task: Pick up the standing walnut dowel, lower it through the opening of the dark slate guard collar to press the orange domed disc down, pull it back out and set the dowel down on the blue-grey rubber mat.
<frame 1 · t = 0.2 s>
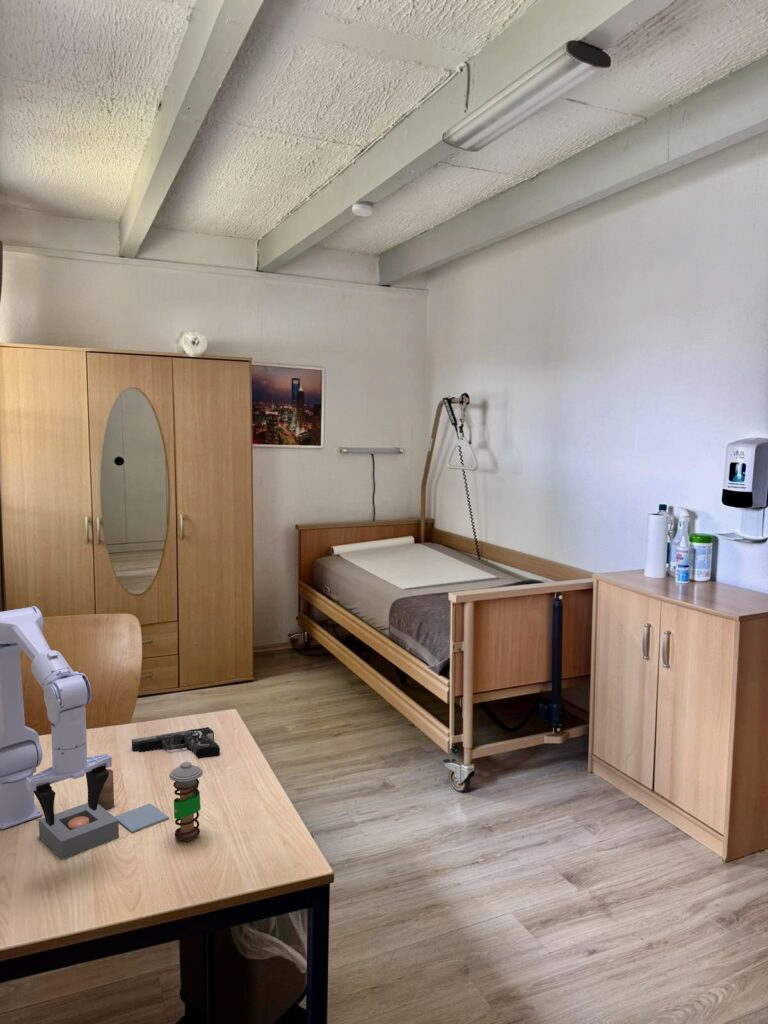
hand: (71, 815, 133), 10 cm above the table, tool pointing down, fingers open, 7 cm apart
handgun: (175, 753, 184), on the table
shock absorber: (187, 838, 144), on the table
mat: (141, 818, 151), on the table
orange domed disc: (78, 824, 144), point 3 cm above the table, slide at 0.0 cm
dowel: (105, 806, 156), on the table
guard collar: (79, 836, 144), on the table
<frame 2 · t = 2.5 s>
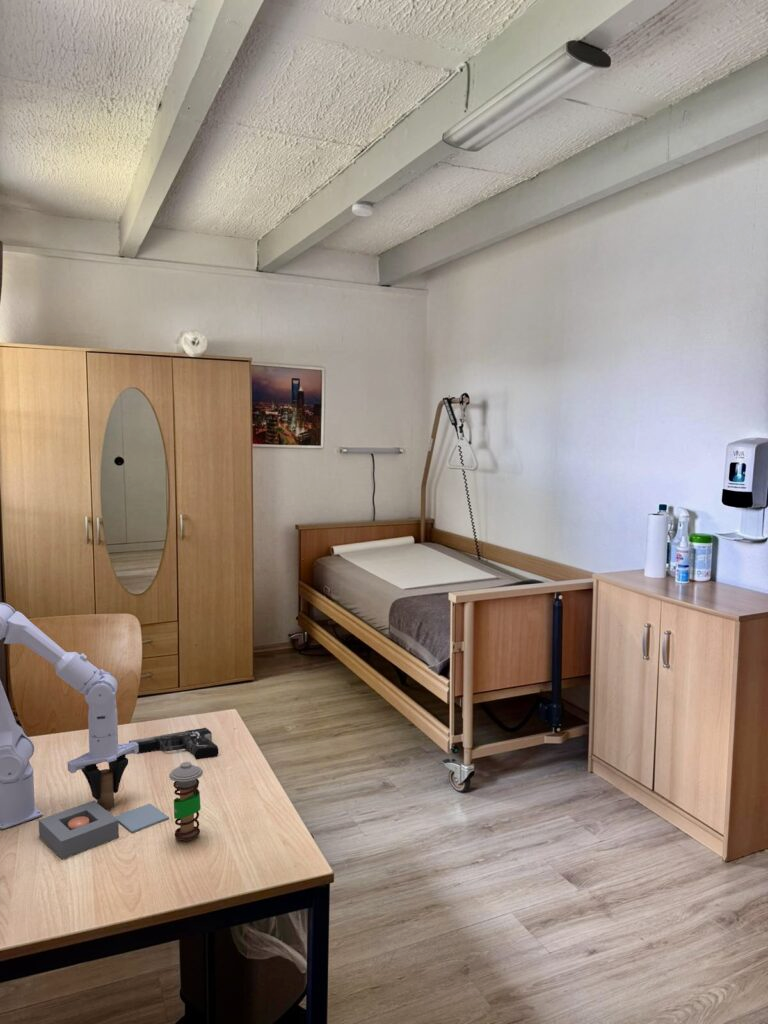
hand: (105, 794, 156), 3 cm above the table, tool pointing down, fingers closed on dowel, 3 cm apart
dowel: (105, 806, 156), on the table, touching gripper
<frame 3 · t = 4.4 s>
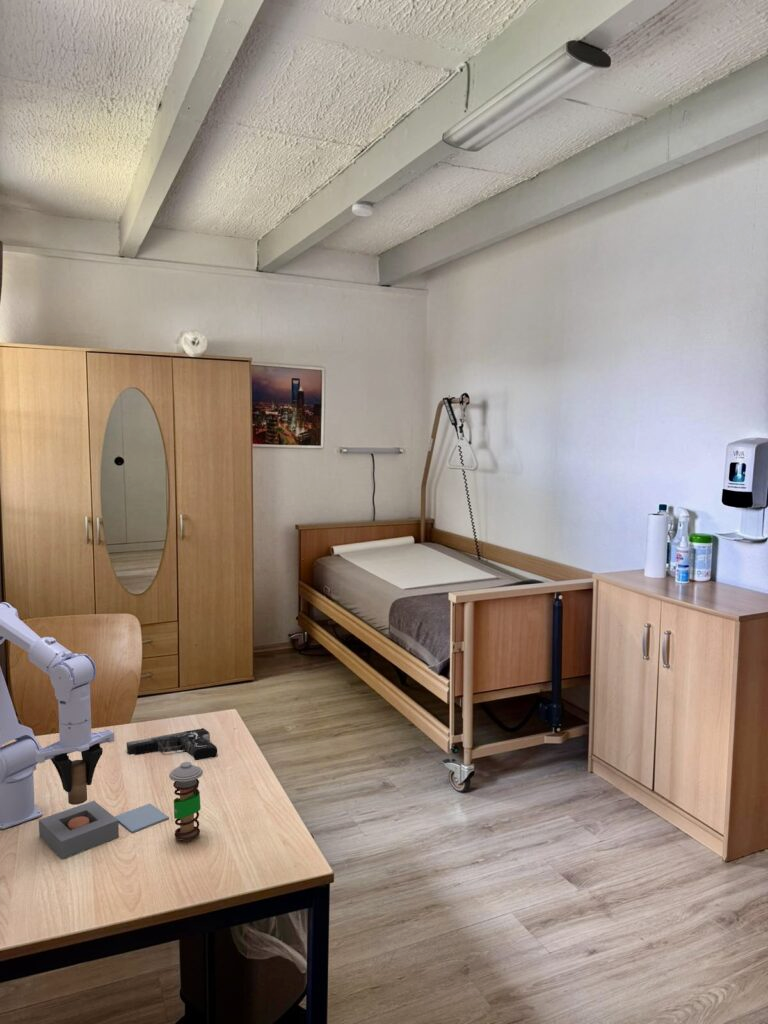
hand: (77, 786, 143), 10 cm above the table, tool pointing down, fingers closed on dowel, 3 cm apart
dowel: (77, 800, 143), point 7 cm above the table, touching gripper
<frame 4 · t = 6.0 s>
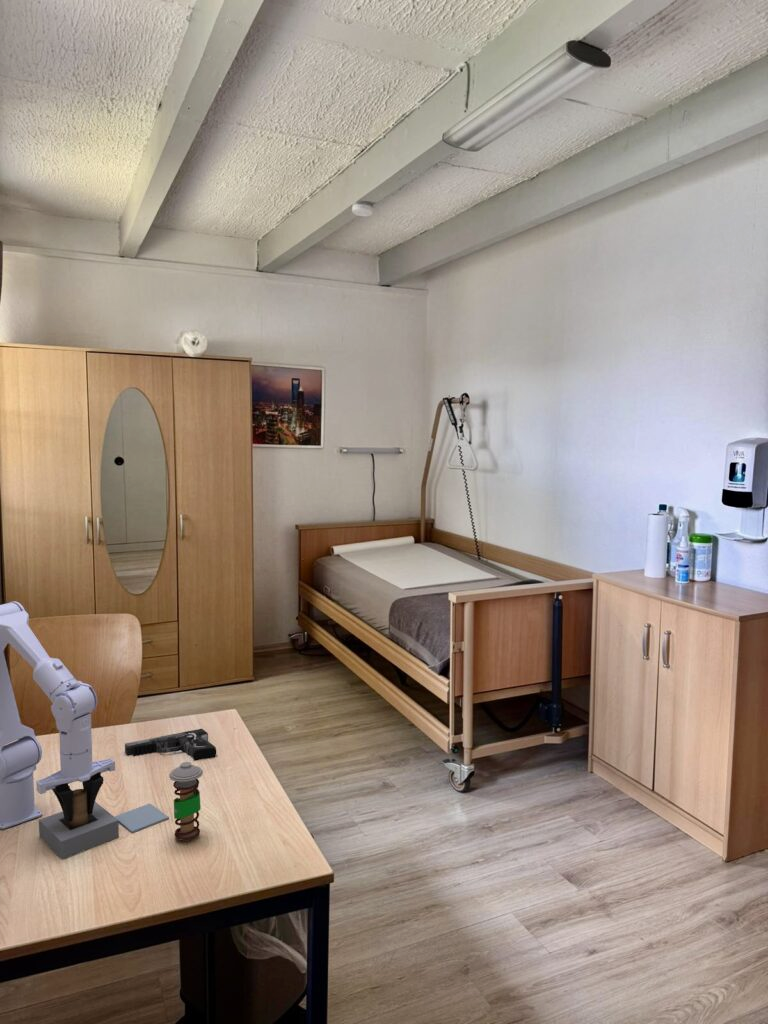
hand: (78, 816, 144), 4 cm above the table, tool pointing down, fingers closed on dowel, 3 cm apart
orange domed disc: (79, 832, 144), point 1 cm above the table, slide at 1.7 cm, touching dowel
dowel: (78, 829, 144), point 2 cm above the table, touching gripper, orange domed disc
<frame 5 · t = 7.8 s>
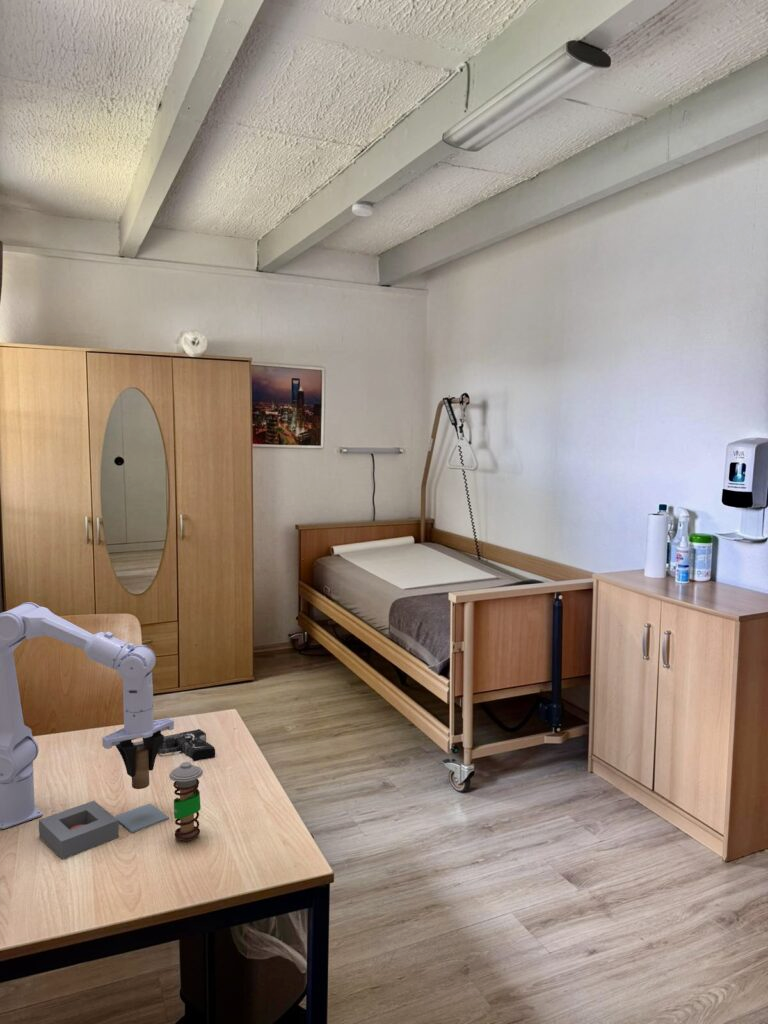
hand: (140, 771, 150), 10 cm above the table, tool pointing down, fingers closed on dowel, 3 cm apart
orange domed disc: (79, 832, 144), point 1 cm above the table, slide at 1.7 cm
dowel: (140, 785, 150), point 7 cm above the table, touching gripper
when the fingers open (4 cm above the table, at t = 9.1 s): dowel stays where it is, resting on mat.
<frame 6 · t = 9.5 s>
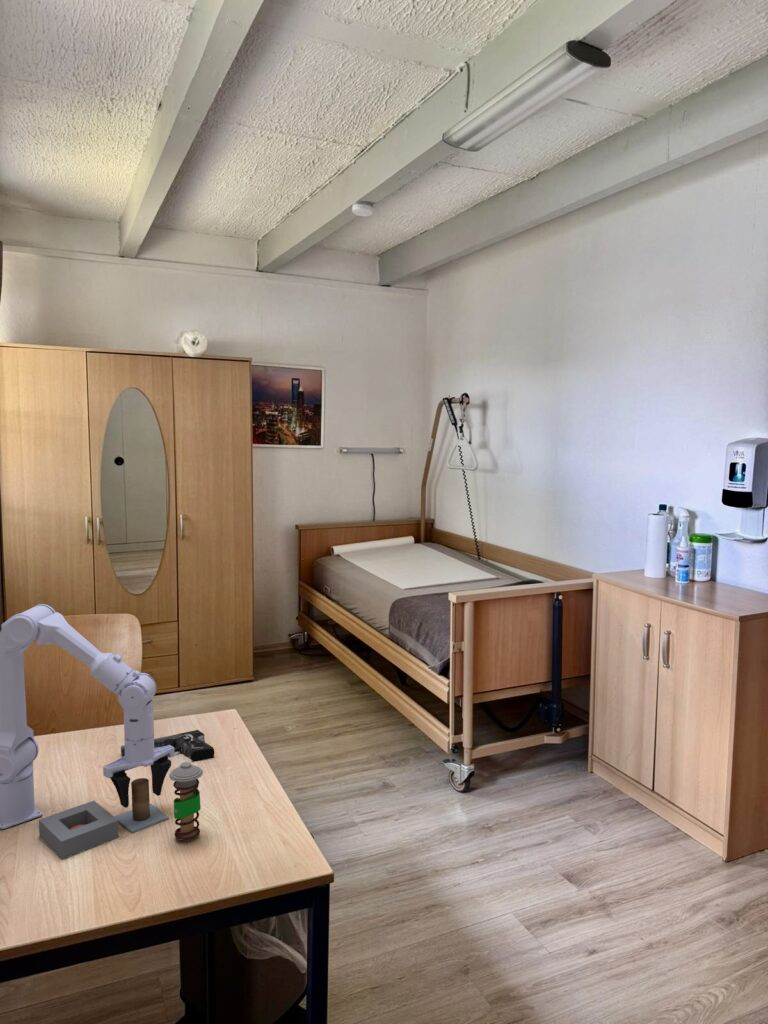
hand: (140, 799, 151), 4 cm above the table, tool pointing down, fingers open, 6 cm apart
dowel: (141, 816, 151), resting on mat
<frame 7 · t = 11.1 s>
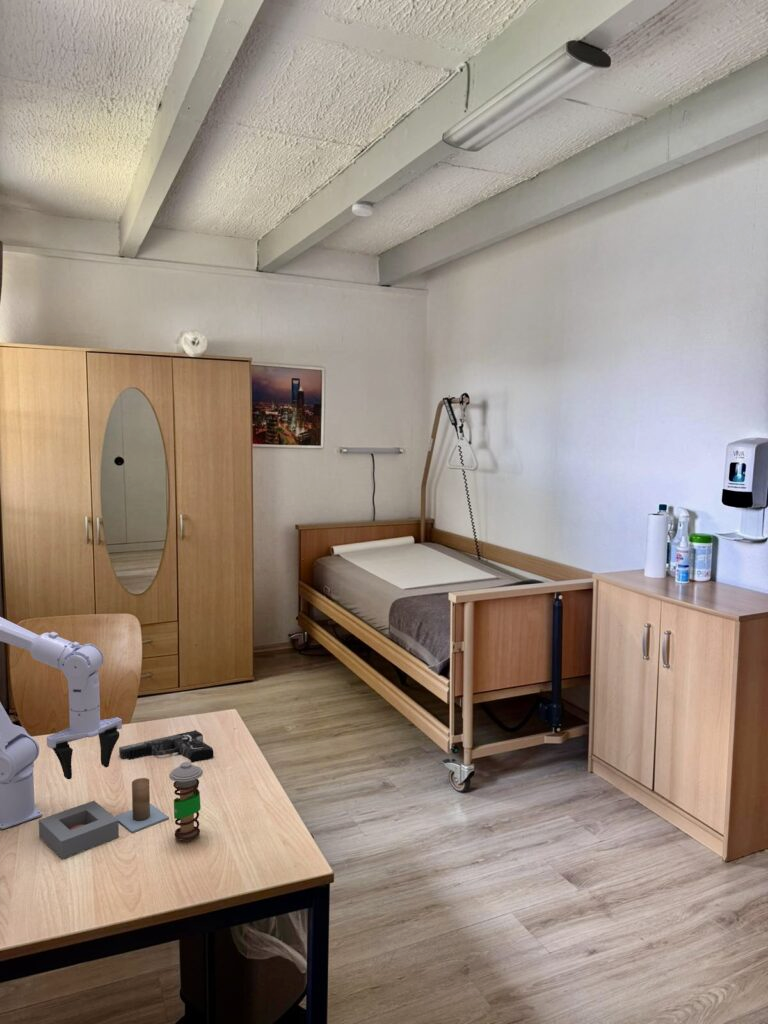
hand: (86, 771, 149), 10 cm above the table, tool pointing down, fingers open, 7 cm apart
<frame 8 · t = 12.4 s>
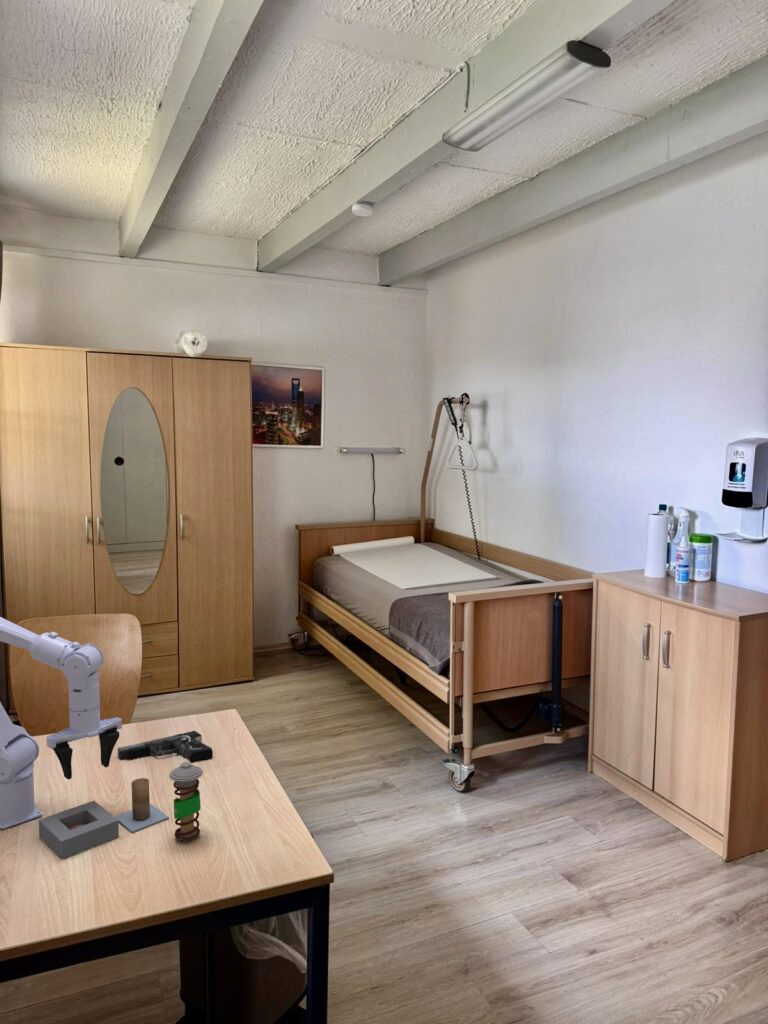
hand: (86, 771, 149), 10 cm above the table, tool pointing down, fingers open, 7 cm apart
at the end: orange domed disc slide at 1.7 cm; dowel 0.0 cm from the mat (horizontally); the gripper is holding nothing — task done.
